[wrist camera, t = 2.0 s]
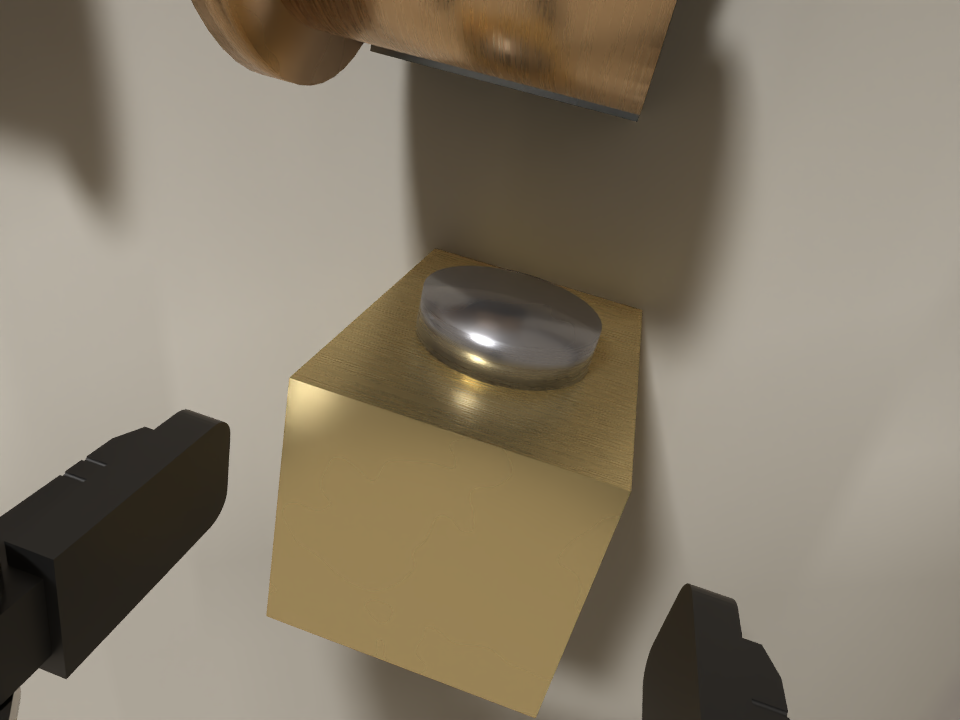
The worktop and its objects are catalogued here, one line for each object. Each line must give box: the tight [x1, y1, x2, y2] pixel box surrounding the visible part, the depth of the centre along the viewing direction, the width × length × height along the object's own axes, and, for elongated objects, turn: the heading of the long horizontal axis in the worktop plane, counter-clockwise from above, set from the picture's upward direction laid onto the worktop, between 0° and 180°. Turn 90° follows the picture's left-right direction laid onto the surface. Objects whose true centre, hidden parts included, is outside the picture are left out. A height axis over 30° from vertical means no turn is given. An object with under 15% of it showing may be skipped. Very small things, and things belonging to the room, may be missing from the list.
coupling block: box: [267, 248, 642, 718], centre depth 13 cm, size 7×5×7 cm
